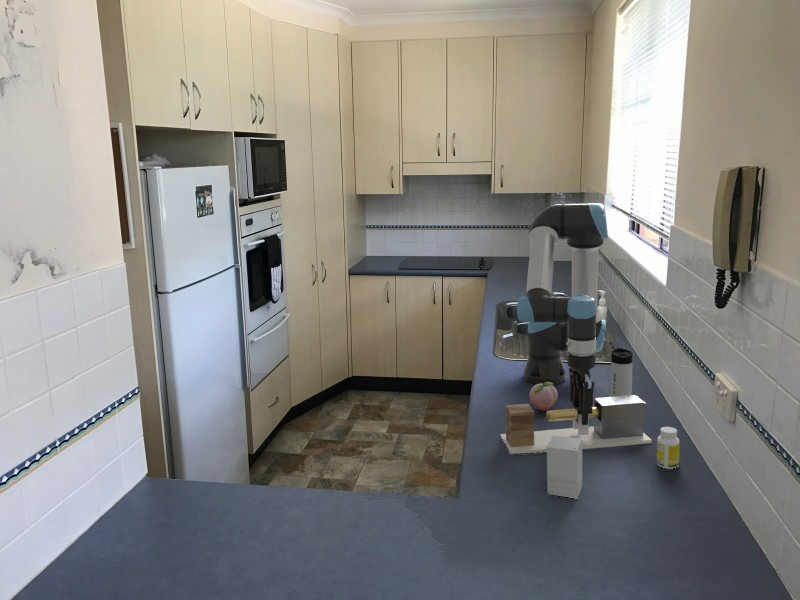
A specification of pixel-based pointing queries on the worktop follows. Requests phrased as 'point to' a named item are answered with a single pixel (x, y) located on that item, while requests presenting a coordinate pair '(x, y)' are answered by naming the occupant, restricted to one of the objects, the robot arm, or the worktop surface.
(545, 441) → the base board
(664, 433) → the supplement bottle
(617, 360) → the travel mug
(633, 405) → the metal sleeve
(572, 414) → the brass rod
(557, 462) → the supplement box
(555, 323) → the robot arm
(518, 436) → the walnut socket
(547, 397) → the decorative fruit
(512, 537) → the worktop surface
